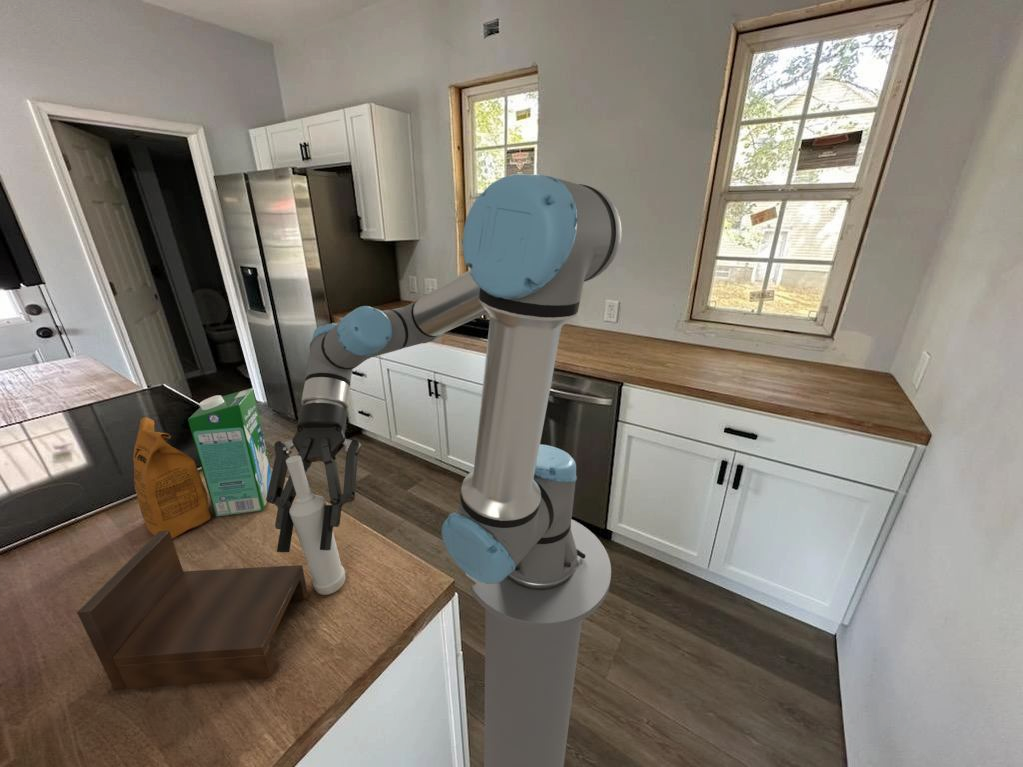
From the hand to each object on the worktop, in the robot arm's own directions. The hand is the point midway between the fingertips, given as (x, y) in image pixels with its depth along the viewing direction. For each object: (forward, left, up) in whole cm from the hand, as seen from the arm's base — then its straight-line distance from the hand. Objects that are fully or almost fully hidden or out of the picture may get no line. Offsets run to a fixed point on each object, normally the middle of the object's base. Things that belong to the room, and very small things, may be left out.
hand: (304, 550), depth 63 cm
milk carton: (+24, -29, -12) cm, 39 cm away
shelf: (+11, +4, -11) cm, 16 cm away
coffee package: (+34, -23, -12) cm, 43 cm away
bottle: (-1, -4, -11) cm, 12 cm away
